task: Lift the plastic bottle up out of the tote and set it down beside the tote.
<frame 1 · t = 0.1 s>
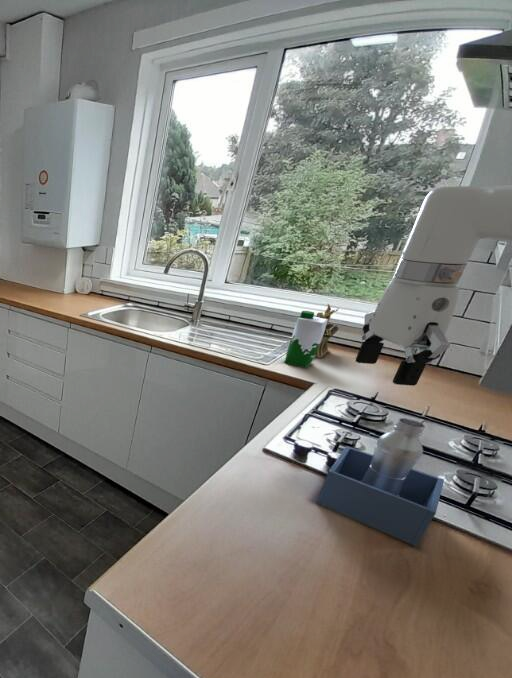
hand: (383, 372, 71), 30 cm above the counter, tool pointing down, fingers open, 9 cm apart
brown figurine: (314, 351, 173), on the counter
tote: (370, 506, 84), on the counter
plastic bottle: (369, 507, 85), resting in tote
milk carton: (297, 363, 160), on the counter
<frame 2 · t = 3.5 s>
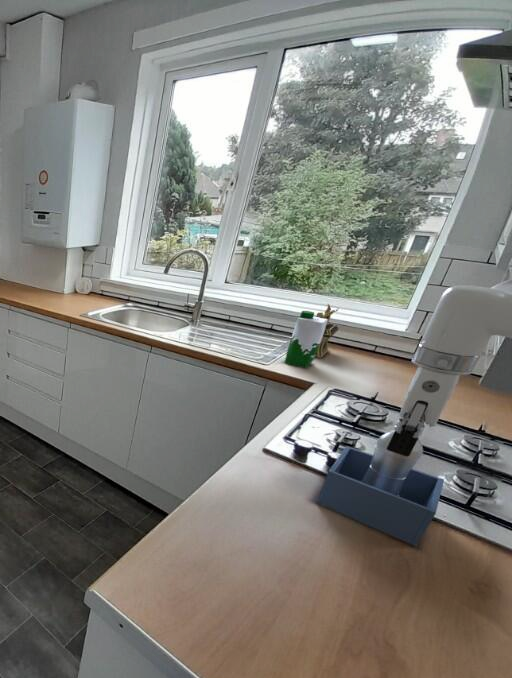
hand: (400, 445, 78), 15 cm above the counter, tool pointing down, fingers closed on plastic bottle, 6 cm apart
plastic bottle: (369, 507, 85), resting in tote, touching gripper
everything else where it was.
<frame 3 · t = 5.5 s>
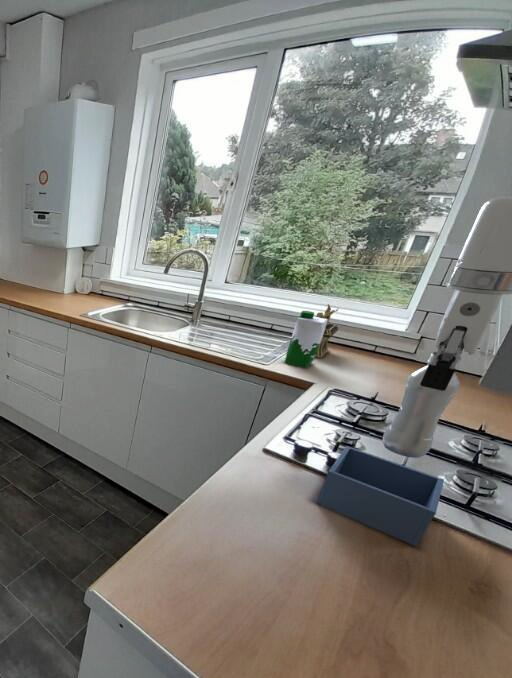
hand: (434, 381, 73), 28 cm above the counter, tool pointing down, fingers closed on plastic bottle, 6 cm apart
plastic bottle: (400, 453, 79), point 13 cm above the counter, touching gripper
everything else where it was.
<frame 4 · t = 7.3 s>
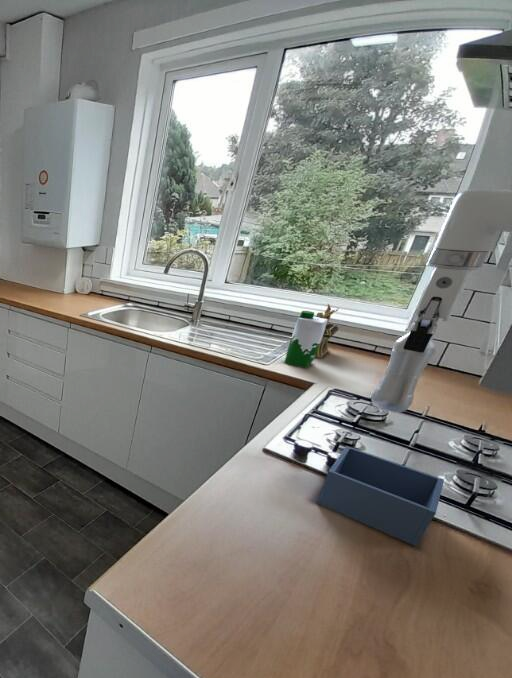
hand: (415, 346, 86), 30 cm above the counter, tool pointing down, fingers closed on plastic bottle, 6 cm apart
plastic bottle: (386, 409, 93), point 15 cm above the counter, touching gripper
everything else where it was.
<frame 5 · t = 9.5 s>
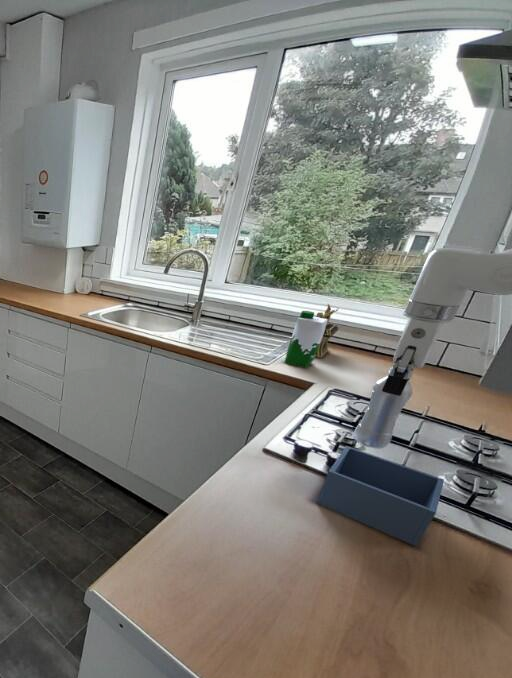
hand: (394, 388, 92), 19 cm above the counter, tool pointing down, fingers closed on plastic bottle, 6 cm apart
plastic bottle: (367, 445, 98), point 4 cm above the counter, touching gripper
everything else where it was.
when the fingers open (15 cm above the counter, at t = 11.2 s): plastic bottle stays where it is, on the counter.
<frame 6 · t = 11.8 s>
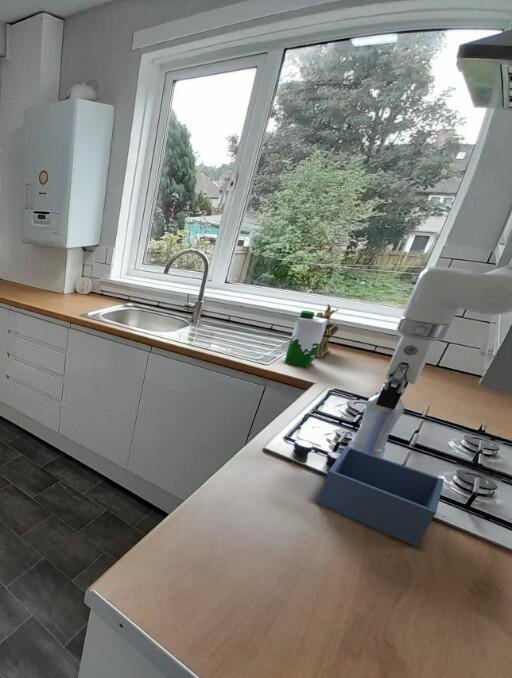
hand: (389, 400, 93), 16 cm above the counter, tool pointing down, fingers open, 9 cm apart
plastic bottle: (360, 460, 100), on the counter
everything else where it was.
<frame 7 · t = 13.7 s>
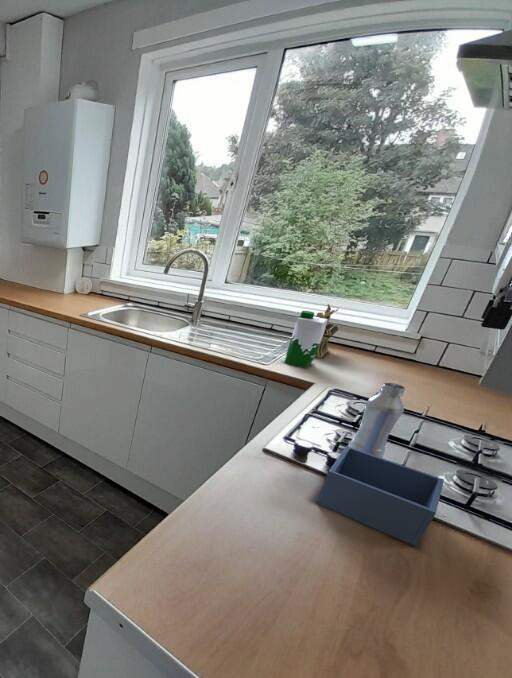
hand: (492, 323, 83), 35 cm above the counter, tool pointing down, fingers open, 9 cm apart
nothing on the counter moved.
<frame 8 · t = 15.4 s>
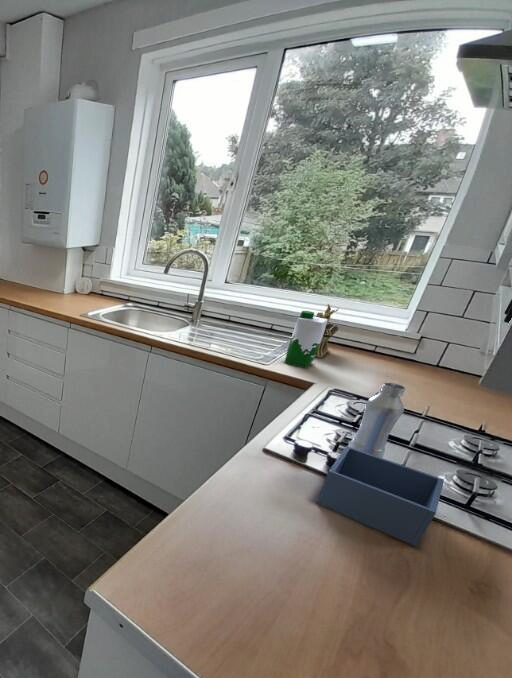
nothing on the counter moved.
at the end: plastic bottle inside the target area (0.1 cm from its centre), on the counter; plastic bottle tilted 0°; plastic bottle touching counter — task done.
